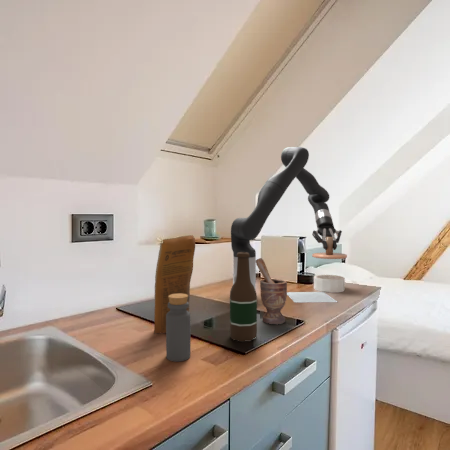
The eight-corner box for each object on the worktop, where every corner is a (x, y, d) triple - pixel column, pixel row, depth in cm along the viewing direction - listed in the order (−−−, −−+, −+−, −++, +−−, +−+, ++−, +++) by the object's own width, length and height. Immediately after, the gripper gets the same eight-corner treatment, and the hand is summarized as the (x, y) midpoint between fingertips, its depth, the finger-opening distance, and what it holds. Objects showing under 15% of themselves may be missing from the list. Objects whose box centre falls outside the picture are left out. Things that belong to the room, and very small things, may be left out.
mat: (294, 303, 130) (294, 302, 130) (285, 293, 147) (285, 292, 147) (338, 303, 131) (338, 301, 131) (323, 293, 148) (323, 291, 148)
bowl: (319, 293, 147) (319, 280, 147) (310, 287, 160) (310, 274, 160) (348, 293, 147) (349, 279, 147) (337, 287, 160) (337, 274, 160)
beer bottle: (259, 334, 97) (259, 251, 97) (254, 344, 90) (254, 254, 89) (233, 331, 99) (233, 250, 99) (226, 341, 92) (226, 253, 91)
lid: (318, 259, 145) (318, 238, 145) (308, 254, 160) (308, 236, 160) (352, 258, 146) (352, 238, 145) (339, 254, 161) (339, 235, 160)
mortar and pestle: (247, 321, 109) (247, 259, 109) (258, 314, 117) (258, 256, 116) (280, 327, 103) (281, 262, 103) (290, 319, 111) (290, 259, 110)
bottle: (191, 351, 85) (191, 292, 85) (189, 361, 79) (189, 298, 79) (168, 351, 85) (167, 292, 84) (164, 362, 79) (164, 298, 78)
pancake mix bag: (202, 320, 110) (202, 235, 109) (162, 338, 94) (161, 238, 93) (186, 317, 114) (186, 234, 113) (144, 333, 98) (144, 237, 97)
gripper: (310, 215, 160) (316, 243, 148) (340, 215, 159) (348, 243, 147) (308, 226, 165) (313, 254, 154) (337, 226, 165) (344, 253, 153)
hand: (330, 248), depth 151 cm, fingers closed on lid, 3 cm apart
